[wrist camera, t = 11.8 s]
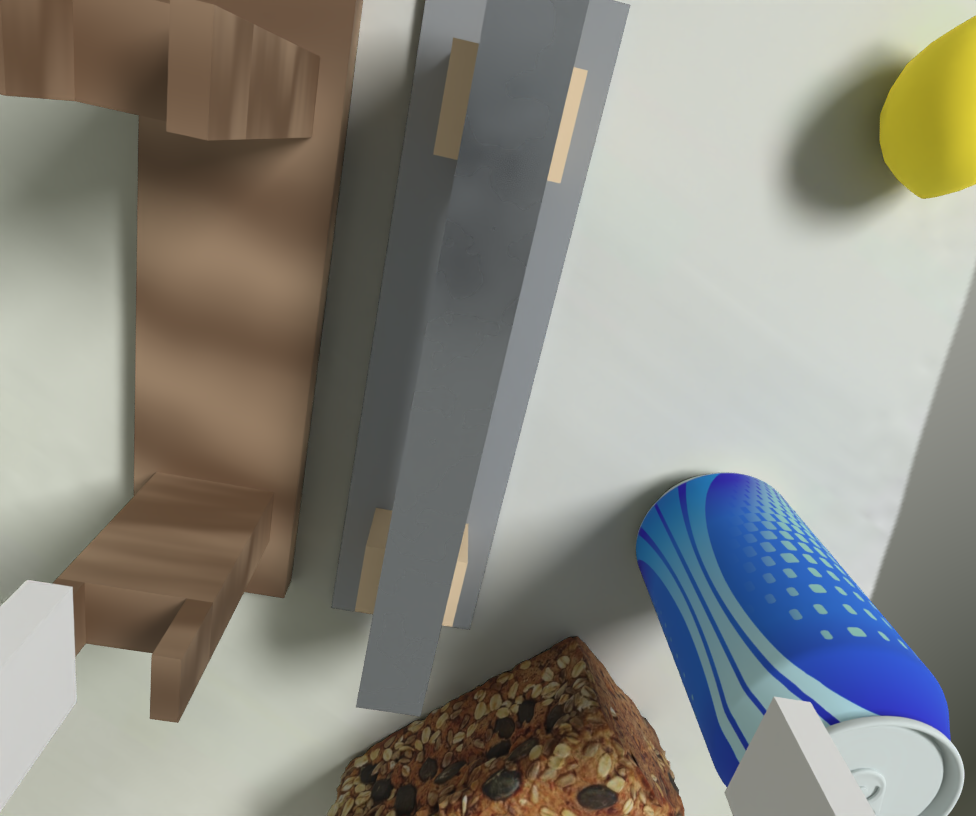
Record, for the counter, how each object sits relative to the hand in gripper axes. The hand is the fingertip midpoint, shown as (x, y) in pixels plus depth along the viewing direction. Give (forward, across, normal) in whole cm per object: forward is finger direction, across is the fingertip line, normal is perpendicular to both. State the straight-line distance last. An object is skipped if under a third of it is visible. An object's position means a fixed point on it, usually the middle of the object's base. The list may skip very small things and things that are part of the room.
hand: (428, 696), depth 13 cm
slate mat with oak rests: (+22, 0, 0) cm, 22 cm away
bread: (+22, +8, -25) cm, 34 cm away
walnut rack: (+21, -11, 0) cm, 24 cm away
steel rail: (+18, 0, 0) cm, 18 cm away
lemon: (+22, +17, +14) cm, 32 cm away
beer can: (+22, +15, -8) cm, 28 cm away
